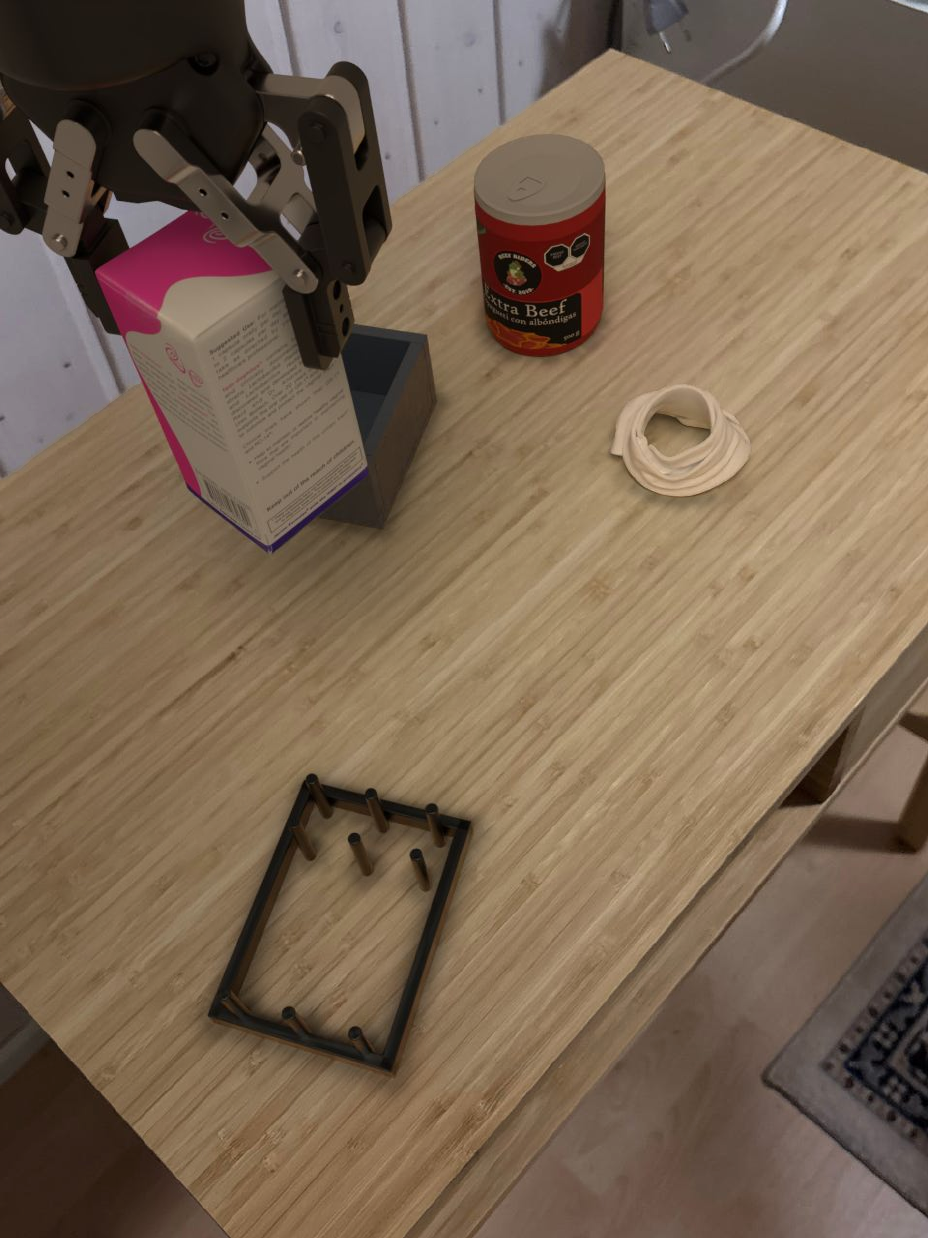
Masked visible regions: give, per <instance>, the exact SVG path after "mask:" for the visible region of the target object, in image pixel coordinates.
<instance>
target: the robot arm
mask: <svg viewBox="0 0 928 1238" xmlns="http://www.w3.org/2000/svg"><path fill="white" fill-rule="evenodd" d="M269 123H270V124H272V125H274V126H275V127H277V128H278V129H280V130H281V131H282V133H284V134H285V136H286V137H287V140H288V142H289V145H290V147H291V149H292V150H291V149H290V148H289V147H288V145H287V144H286V143H285V142H284V140H282V138H281V137H280V135H278V134H277V133H276V131H275V130H274V129H273V128H272V127H271V125H270V124H269ZM32 124H33V125H34V126H35V127H37V129H38V130H39V131H40V132H42V133H43V134H44V136H46V137H47V138H48V139H49V140H50V141H51V142H52V149H53V150H54V152H53V157H52V160H51V164H50V162H49V160H48V158H47V156H46V153H45V151H44V148H43V147H42V144H41V142H40V140H39V138H38V135H37V134H36V131H35V129H34V127H33V125H32ZM7 160H8V162H9V163H10V166H11V168H12V170H13V172H14V176H13V178H11V177H10V176H9V173H8V171H7V169H6V168H7V167H6V165H7ZM248 163H249V165H251V166H252V168H253V170H254V171H255V174H256V184H255V186H254V188H253V189H252V191H251V192H250V194H249V196H248V197H247V199H246V198H245V197H243V195H242V194H241V193H240V192H239V191H238V190H237V188H236V187H234V186H235V185H236V183H237V181H238V179H239V178H240V177H241V175H242V173H243V172H244V171H245V168H246V167H247V164H248ZM304 167H306V171H307V176H308V180H309V184H310V187H309V186H308V185H307V183H306V181H305V169H304ZM310 188H311V189H310ZM113 196H114V199H115V200H116V202H123V203H129V204H137V205H139V204H147V203H154V202H159V203H162V204H164V205H165V204H166V205H168V206H172V207H174V208H177V209H178V210H179V209H180V210H182V211H195V212H203V213H204V214H205V215H206V216H207V217H208V218H209V219H210V220H211V221H212V222H213V224H214V225H215V226H216V227H217V228H218V229H219V230H220V231H221V232H222V233H223V234H224V235H225V236H226V237H227V238H228V239H229V240H230V242H231V243H233V244H234V245H235V246H237V247H241V248H242V247H246V246H249V247H252V248H253V249H254V250H255V251H256V252H257V253H258V254H259V255H260V256H261V257H262V258H263V259H264V260H265V261H266V262H267V264H268V265H269V266H270V267H271V268H272V269H273V270H274V271H275V272H276V273H277V274H278V275H279V276H280V277H281V278H282V280H283V281H284V282H285V283H286V285H285V286H284V288H283V290H282V293H283V296H284V300H285V303H286V307H287V310H288V314H289V317H290V321H291V324H292V328H293V331H294V334H295V338H296V341H297V345H298V348H299V352H300V355H301V359H302V362H303V365H304V366H305V367H306V368H312V369H317V370H323V371H325V370H327V369H328V367H329V365H330V363H331V362H332V360H333V358H338V357H339V355H340V353H341V351H342V349H343V347H344V345H345V343H346V341H347V339H348V337H349V335H350V334H351V332H352V329H353V325H354V324H355V323H356V319H355V314H354V310H353V307H352V302H351V299H350V293H349V290H348V286H350V287H358V286H360V285H363V284H364V283H365V282H366V279H367V277H368V275H369V274H370V272H371V269H372V265H373V263H374V261H375V259H376V258H377V256H378V254H379V252H380V250H381V248H382V246H383V245H384V243H386V242H387V240H388V238H389V236H390V234H391V232H392V231H393V220H392V213H391V208H390V202H389V197H388V191H387V184H386V178H385V173H384V168H383V160H382V154H381V148H380V143H379V137H378V131H377V124H376V119H375V113H374V107H373V101H372V96H371V90H370V83H369V79H368V78H367V75H366V73H364V71H363V70H362V69H361V68H360V67H359V66H358V65H356V64H355V63H353V62H352V61H351V62H350V61H348V60H347V61H346V60H341V61H337V62H335V63H334V64H333V65H332V66H331V67H330V68H329V69H328V71H327V73H326V75H325V77H323V78H316V77H308V76H297V75H287V74H280V73H279V74H278V73H275V72H274V71H273V69H272V67H271V65H270V63H268V61H267V60H266V59H265V57H264V56H263V55H262V54H261V52H260V50H259V49H258V47H257V45H256V44H255V42H254V40H253V39H252V36H251V34H250V31H249V30H248V24H247V16H246V4H245V0H0V230H1V231H3V232H4V233H6V234H9V235H11V236H18V235H21V234H22V232H23V231H24V230H25V229H26V230H29V231H31V232H34V233H36V234H38V235H40V236H41V237H42V240H43V242H44V244H45V245H46V246H47V248H48V249H50V250H51V252H53V253H55V254H56V255H58V256H61V257H63V259H64V262H65V264H66V266H67V268H68V270H69V272H70V275H71V276H72V279H73V280H74V283H75V284H76V288H77V289H78V291H79V293H80V295H81V297H82V299H83V301H84V304H85V306H86V307H87V309H88V310H89V311H90V312H91V313H92V314H93V315H94V317H96V318H97V319H99V321H100V323H101V326H102V327H103V329H104V331H105V332H106V333H107V334H109V335H115V336H121V337H122V335H121V333H120V331H119V328H118V326H117V324H116V321H115V319H114V317H113V314H112V312H111V310H110V307H109V305H108V303H107V301H106V298H105V296H104V294H103V291H102V289H101V287H100V284H99V282H98V280H97V277H96V274H95V271H96V269H98V268H99V267H100V266H102V265H104V264H106V263H107V262H109V261H110V260H112V259H114V258H115V257H117V256H118V255H120V254H122V253H123V252H125V251H126V250H128V249H130V248H131V247H130V245H129V243H128V240H127V238H126V236H125V233H124V231H123V228H122V226H121V224H120V221H119V219H118V218H113V217H112V218H111V217H105V216H104V215H105V214H106V212H108V210H109V207H110V204H111V200H112V197H113ZM281 215H282V216H283V217H284V218H285V220H287V221H288V222H289V224H290V225H291V226H292V227H293V228H294V229H295V231H296V232H298V234H299V235H300V236H299V238H297V239H296V238H295V237H294V236H293V235H292V233H291V232H290V231H289V230H288V229H287V228H286V226H284V224H283V222H282V220H281ZM297 240H298V241H297Z"/></svg>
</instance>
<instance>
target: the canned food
mask: <svg viewBox="0 0 928 1238" xmlns="http://www.w3.org/2000/svg"><path fill="white" fill-rule="evenodd" d="M606 174H607V173H606V167H605V162H604V160H603V157H602V156H601V154H600V153H599V152H598V150H596V149H595V148H594V147H593V146H592V145H590V144H589V143H587V142H585V141H583V140H582V139H578V138H576V137H572V136H568V135H563V134H553V133H542V134H532V135H528V136H522V137H519V138H515V139H512V140H509V141H508V142H506V143H504V144H500V145H499V146H497V147H496V148H495V149H493V150H491V151H490V152H489V153H488V154H487V155H486V156H485V157H484V158H482V160H481V161H480V163H479V164H478V165H477V167H476V170H475V172H474V175H473V199H474V213H475V214H474V215H475V223H476V236H477V245H478V254H479V255H478V256H479V265H480V277H481V285H482V297H483V305H484V315H485V316H484V317H485V320H486V324H487V326H488V327H489V330H490V331H491V334H492V335H493V337H494V339H495V340H496V341H497V342H498V343H499V344H500V345H501V346H503V347H504V348H506V349H508V350H509V351H512V352H514V353H517V354H519V355H525V356H531V357H532V356H533V357H546V356H554V355H559V354H562V353H565V352H568V351H571V350H574V348H577V347H578V346H581V344H583V343H584V342H585V341H587V340H588V339H589V338H590V337H591V335H593V334H594V332H595V330H596V328H597V327H598V325H599V322H600V320H601V317H602V314H603V310H604V294H605V293H604V292H605V253H606V252H605V251H606V250H605V249H606V246H605V245H606V210H607V209H606V203H607V193H606V192H607V190H606V189H607V188H606V187H607V185H606V184H607V176H606Z"/></svg>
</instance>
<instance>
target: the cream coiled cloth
mask: <svg viewBox="0 0 928 1238" xmlns="http://www.w3.org/2000/svg"><path fill="white" fill-rule="evenodd" d="M655 414H659V415H665V416H670V417H673V418H676V419H677V420H678V421H679V422H680V423H681V424H682V425H684V426H687V427H693V428H700V429H705V430H710V431H709V432H710V434H709V435H708V437H707V438H705V440H703V441H701V442H700V443H698V444H696V445H694V446H692V447H690V448H688V449H686V450H684V451H681V452H680V453H678V454H676V455H672V456H667V455H664V454H663V453H662V452H661V451H660V450H659V449H658V448H657V447H655V445H654V444H651V443H650V444H649V445H648V443H649V442H648V439H647V437H646V436H645V431H646V428H647V426H648V423H649V422H650V420H651V419H652V417H653V416H654V415H655ZM751 443H752V442H751V441H750V438H749V436H748V434H747V432H746V431H745V430H744V429H743V427H742V424H741V422H740V420H739V419H738V418H736V417H735V416H734V415H733V414H732V413H730V412H729V411H727V410H725V409H723V408H722V406H721V403H720V402H719V400H718V398H717V397H716V396H715V395H714V394H713V393H712V392H710V391H708V390H707V389H704V388H700V387H699V386H696V385H693V384H689V383H677V384H670V385H668V386H665V387H662V388H660V389H659V390H652V391H647V392H645V393H641V394H639V395H637V396H635V397H634V398H631V399H630V400H627V401H626V404H625V405H624V406H623V407H622V410H621V411H620V413H619V414H618V416H617V419H616V421H615V433H614V437H613V440H612V443H611V446H610V449H609V453H610V454H612V455H614V456H617V457H622V460H623V463H624V465H625V466H626V469H627V470H628V472H629V473H630V474H631V476H632V477H633V478H634V479H635V480H636V481H637V482H638V483H639V484H640V485H641V486H642V487H643V488H645V489H647V490H649V491H652V492H654V493H657V494H660V495H663V496H667V497H668V496H670V497H691V496H696V495H698V494H702V493H705V492H707V491H709V490H712V489H714V488H717V487H718V486H720V485H721V484H724V483H725V482H727V481H729V480H730V479H731V478H733V477H734V476H735V475H736V474H737V473H738V472H739V471H740V470H741V469H742V468H743V467H744V465H745V464H746V463H747V462H748V460H749V458H750V456H751V452H752V444H751Z"/></svg>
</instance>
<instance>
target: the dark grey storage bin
mask: <svg viewBox="0 0 928 1238" xmlns="http://www.w3.org/2000/svg"><path fill="white" fill-rule="evenodd" d="M429 344H430V343H429V339H428V334H426V333H419V332H413V331H407V330H399V329H392V328H386V327H379V326H373V325H365V324H358V323H354V325H353V329H352V332H351V334H350V335H349V337H348V339H347V341H346V343H345V345H344V347H343V349H342V351H341V356H342V360H343V364H344V368H345V372H346V376H347V380H348V384H349V389H350V394H351V397H352V401H353V406H354V410H355V414H356V418H357V422H358V426H359V430H360V434H361V439H362V443H363V448H364V452H365V456H366V460H367V464H368V469H369V473H368V475H367V476H366V478H364V479H363V480H362V481H361V482H360V483H359V484H357V485H356V486H355V487H354V488H353V489H351V490H350V491H349V492H348V493H347V494H345V495H344V496H343V497H342V498H340V499H339V500H338V501H337V502H335V503H334V504H333V505H331V506H330V507H329V508H328V509H327V510H326V511H324V512H323V513H322V514H321V515H319V516H318V517H317V518H321V519H326V520H332V521H337V522H342V523H348V524H353V525H357V526H362V527H367V528H373V529H378V530H383V529H384V527H385V524H386V522H387V520H388V518H389V515H390V513H391V511H392V508H393V506H394V504H395V501H396V499H397V497H398V494H399V491H400V490H401V487H402V485H403V482H404V480H405V478H406V475H407V473H408V471H409V468H410V466H411V464H412V461H413V459H414V457H415V454H416V451H417V449H418V447H419V445H420V443H421V440H422V438H423V435H424V433H425V430H426V428H427V426H428V424H429V421H430V419H431V416H432V415H433V412H434V409H435V407H436V404H437V402H438V397H437V392H436V385H435V378H434V377H435V376H434V371H433V365H432V359H431V357H432V356H431V352H430V351H431V350H430V345H429Z"/></svg>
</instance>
